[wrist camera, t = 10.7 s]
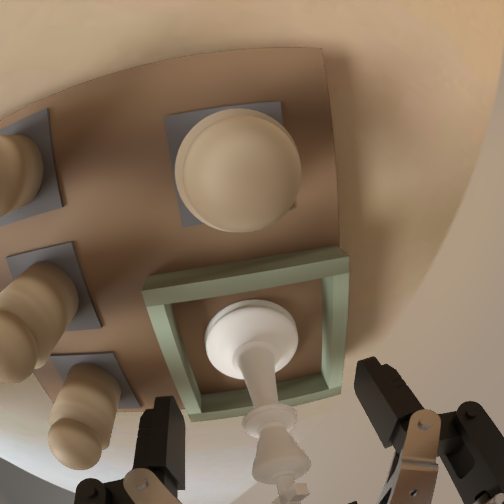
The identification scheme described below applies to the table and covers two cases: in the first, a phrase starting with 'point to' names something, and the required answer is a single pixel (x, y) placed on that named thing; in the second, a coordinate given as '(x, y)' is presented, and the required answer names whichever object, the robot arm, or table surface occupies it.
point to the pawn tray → (168, 237)
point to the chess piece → (262, 386)
